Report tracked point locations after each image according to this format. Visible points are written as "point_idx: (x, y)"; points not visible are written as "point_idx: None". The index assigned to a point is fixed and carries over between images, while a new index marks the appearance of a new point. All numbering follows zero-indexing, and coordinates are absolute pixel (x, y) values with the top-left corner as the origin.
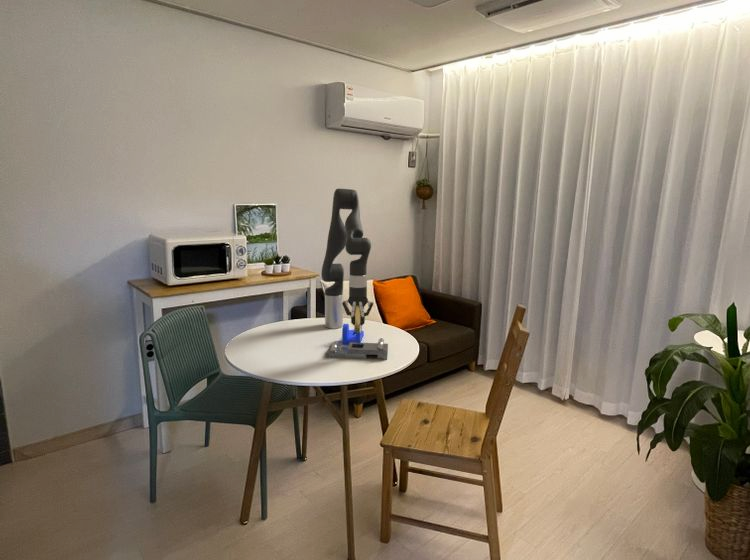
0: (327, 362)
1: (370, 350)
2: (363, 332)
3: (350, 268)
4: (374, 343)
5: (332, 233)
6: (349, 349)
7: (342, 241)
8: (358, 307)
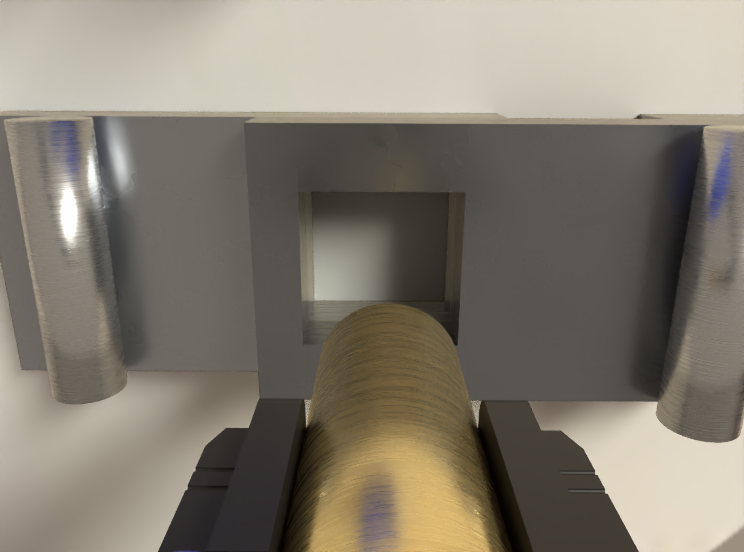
0: (109, 469)
1: (556, 398)
2: None
3: None
4: (624, 140)
5: None
6: (291, 397)
7: None
8: None
